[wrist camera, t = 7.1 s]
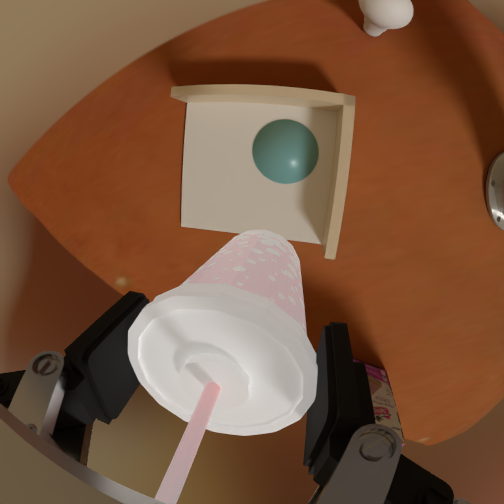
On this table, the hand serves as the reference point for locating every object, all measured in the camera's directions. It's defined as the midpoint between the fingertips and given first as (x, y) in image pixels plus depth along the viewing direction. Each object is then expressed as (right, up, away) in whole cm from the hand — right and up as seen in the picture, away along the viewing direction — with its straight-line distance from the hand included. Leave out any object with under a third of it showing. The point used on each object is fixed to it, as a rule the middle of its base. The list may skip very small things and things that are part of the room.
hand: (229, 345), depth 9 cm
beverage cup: (+1, +2, +7) cm, 7 cm away
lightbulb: (+16, +32, +15) cm, 39 cm away
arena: (+2, +14, +24) cm, 28 cm away
